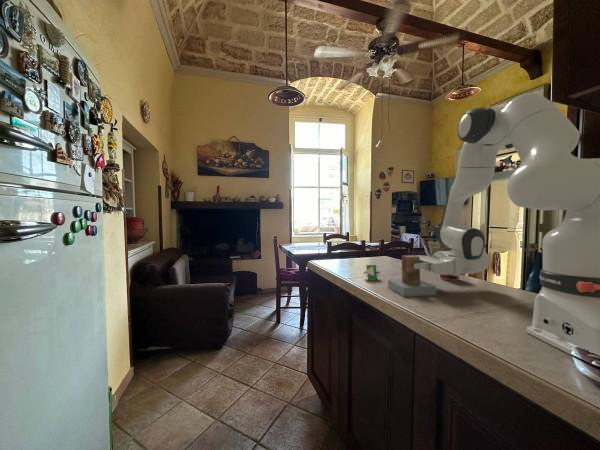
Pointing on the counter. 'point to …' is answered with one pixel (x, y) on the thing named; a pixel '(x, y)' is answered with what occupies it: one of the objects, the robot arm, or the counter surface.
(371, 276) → the geometric puzzle
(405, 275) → the pillar
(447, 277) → the soda can
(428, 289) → the slab
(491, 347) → the counter surface
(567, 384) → the counter surface
